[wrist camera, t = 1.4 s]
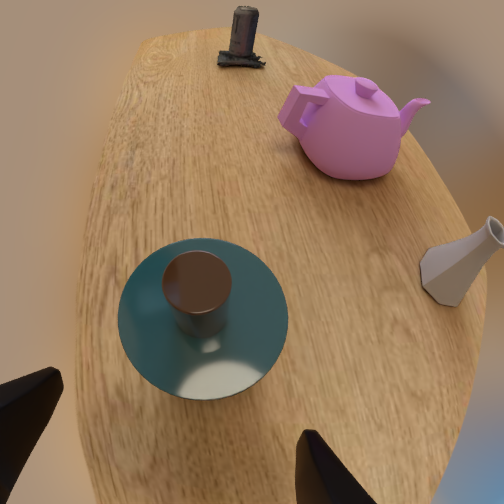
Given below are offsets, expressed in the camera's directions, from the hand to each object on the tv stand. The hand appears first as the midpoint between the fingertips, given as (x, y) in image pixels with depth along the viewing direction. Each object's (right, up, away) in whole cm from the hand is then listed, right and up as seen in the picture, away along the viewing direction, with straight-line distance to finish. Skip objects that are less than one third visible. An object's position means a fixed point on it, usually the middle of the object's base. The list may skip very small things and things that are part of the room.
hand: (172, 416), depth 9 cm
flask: (+24, +2, +20) cm, 32 cm away
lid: (0, +3, +5) cm, 5 cm away
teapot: (+15, +19, +28) cm, 37 cm away
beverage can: (0, +42, +39) cm, 57 cm away
